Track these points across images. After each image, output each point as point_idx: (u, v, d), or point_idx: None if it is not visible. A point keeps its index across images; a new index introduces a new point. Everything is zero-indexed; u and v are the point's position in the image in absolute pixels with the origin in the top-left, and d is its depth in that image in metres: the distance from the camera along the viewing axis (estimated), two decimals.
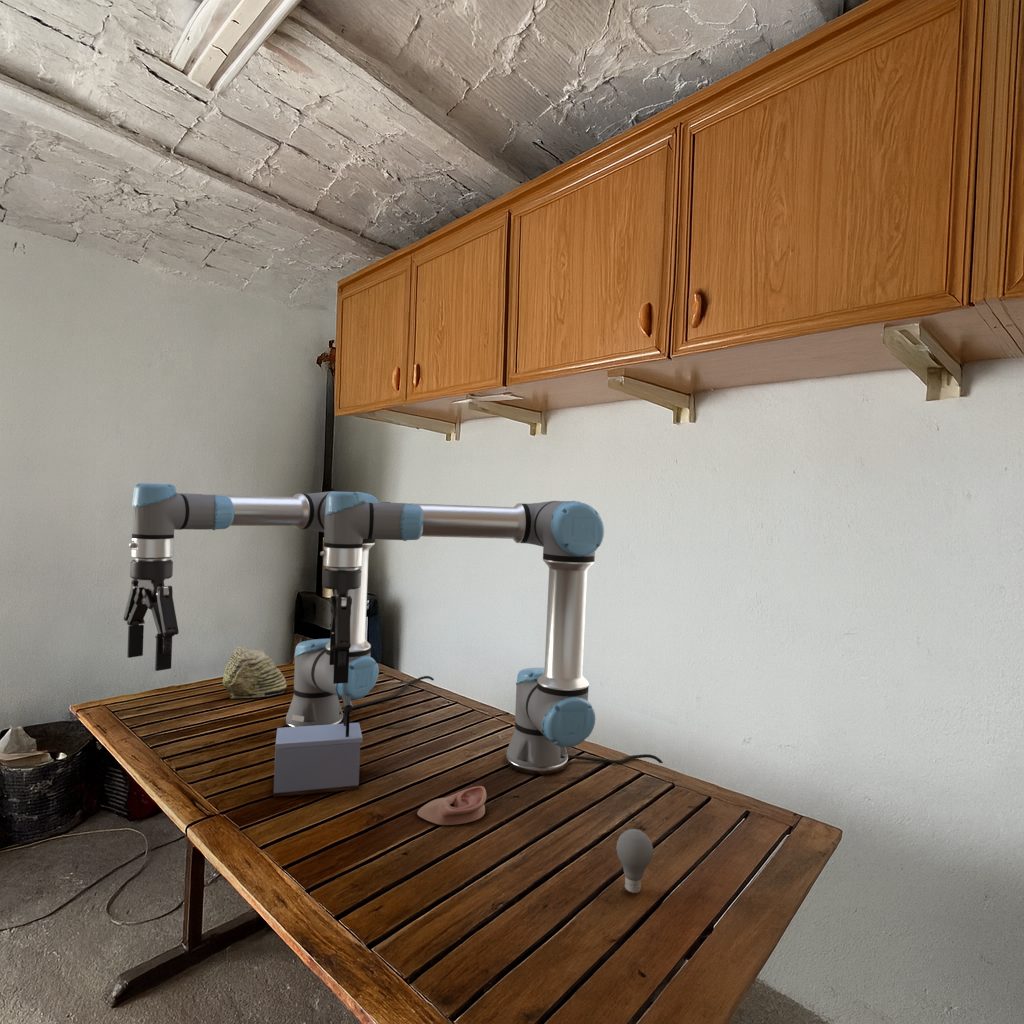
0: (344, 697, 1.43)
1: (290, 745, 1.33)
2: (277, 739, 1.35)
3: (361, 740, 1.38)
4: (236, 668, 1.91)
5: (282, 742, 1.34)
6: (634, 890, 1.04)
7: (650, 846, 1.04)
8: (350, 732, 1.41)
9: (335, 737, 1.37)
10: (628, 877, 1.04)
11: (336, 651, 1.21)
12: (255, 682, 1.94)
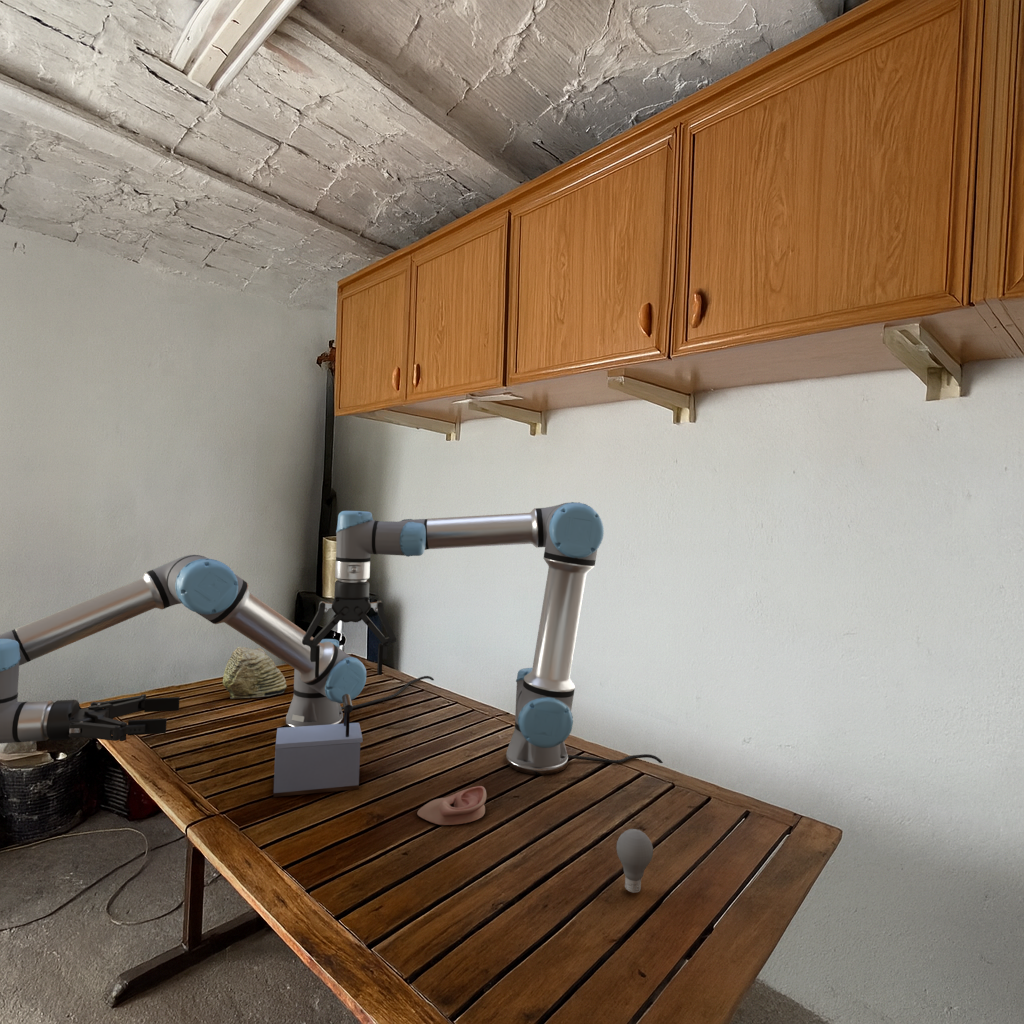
0: (344, 697, 1.43)
1: (290, 745, 1.33)
2: (277, 739, 1.35)
3: (361, 740, 1.38)
4: (236, 668, 1.91)
5: (282, 742, 1.34)
6: (634, 890, 1.04)
7: (650, 846, 1.04)
8: (350, 732, 1.41)
9: (335, 737, 1.37)
10: (628, 877, 1.04)
11: (382, 647, 1.43)
12: (255, 682, 1.94)
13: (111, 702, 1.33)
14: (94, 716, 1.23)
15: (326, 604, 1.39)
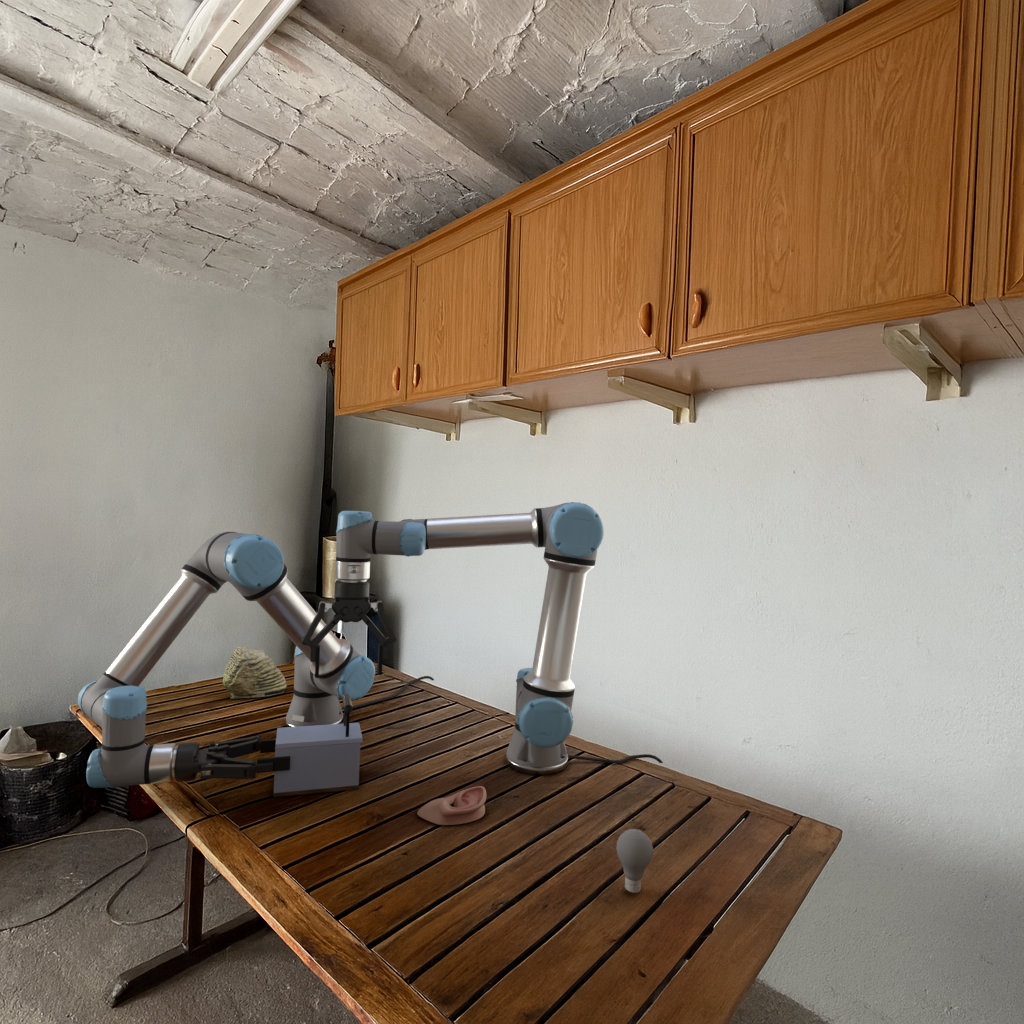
0: (344, 697, 1.43)
1: (290, 745, 1.33)
2: (277, 739, 1.35)
3: (361, 740, 1.38)
4: (236, 668, 1.91)
5: (282, 742, 1.34)
6: (634, 890, 1.04)
7: (650, 846, 1.04)
8: (350, 732, 1.41)
9: (335, 737, 1.37)
10: (628, 877, 1.04)
11: (382, 647, 1.43)
12: (255, 682, 1.94)
13: (227, 743, 1.40)
14: (219, 757, 1.31)
15: (326, 604, 1.39)
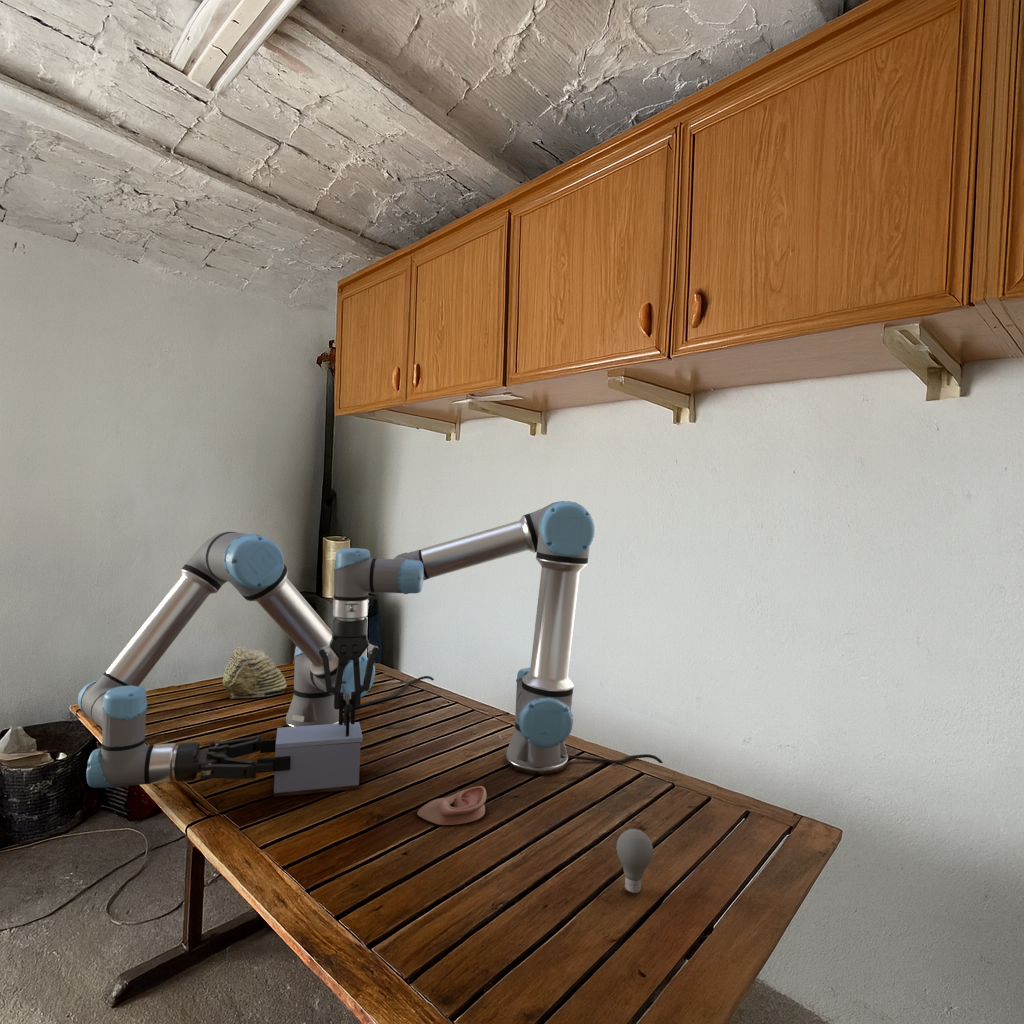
0: (344, 697, 1.43)
1: (290, 745, 1.33)
2: (277, 739, 1.35)
3: (361, 739, 1.38)
4: (236, 668, 1.91)
5: (282, 741, 1.34)
6: (634, 890, 1.04)
7: (650, 846, 1.04)
8: (350, 731, 1.41)
9: (335, 737, 1.37)
10: (628, 877, 1.04)
11: (355, 696, 1.41)
12: (255, 682, 1.94)
13: (228, 743, 1.40)
14: (219, 757, 1.31)
15: (325, 649, 1.39)
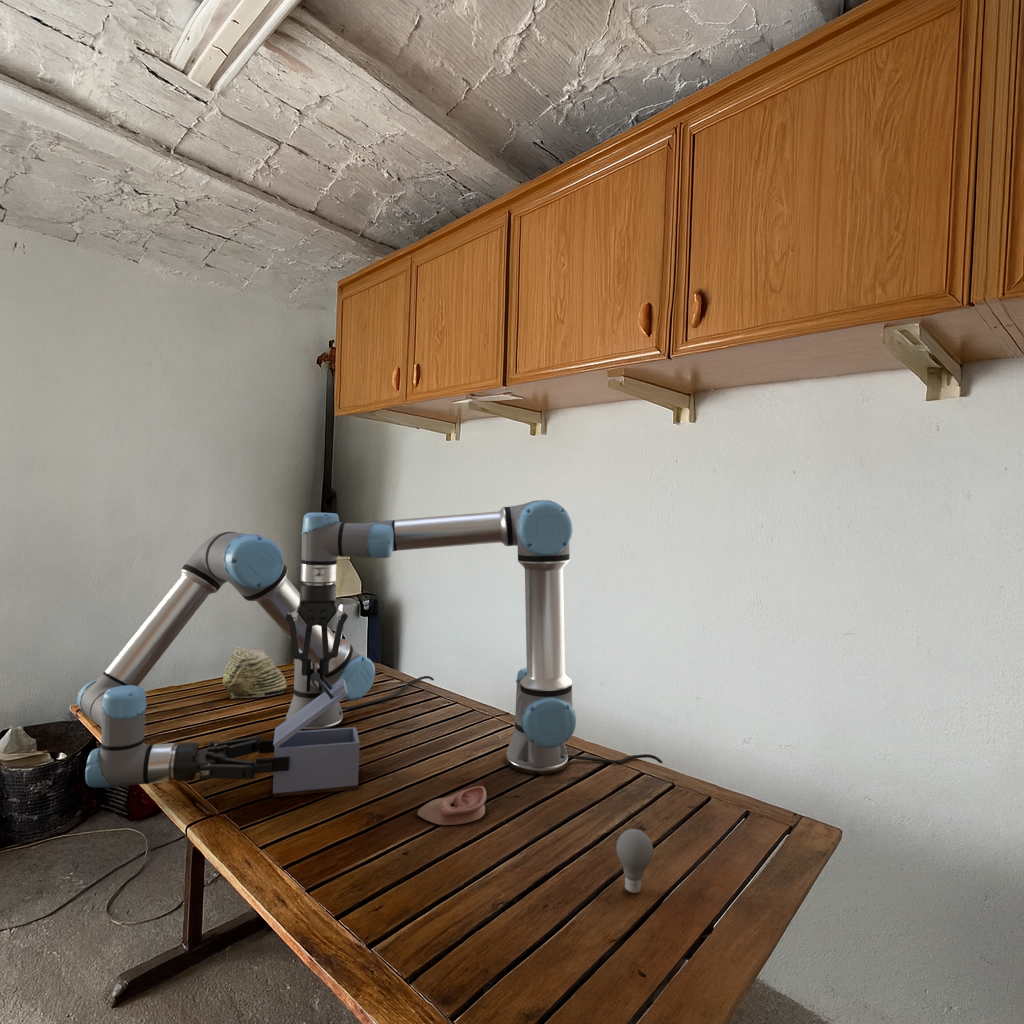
0: None
1: (286, 737, 1.33)
2: (274, 739, 1.35)
3: (346, 693, 1.37)
4: (236, 668, 1.91)
5: (279, 738, 1.34)
6: (634, 890, 1.04)
7: (650, 846, 1.04)
8: (335, 692, 1.40)
9: (323, 705, 1.36)
10: (628, 877, 1.04)
11: (323, 662, 1.39)
12: (255, 682, 1.94)
13: (227, 743, 1.40)
14: (218, 757, 1.31)
15: (292, 614, 1.37)
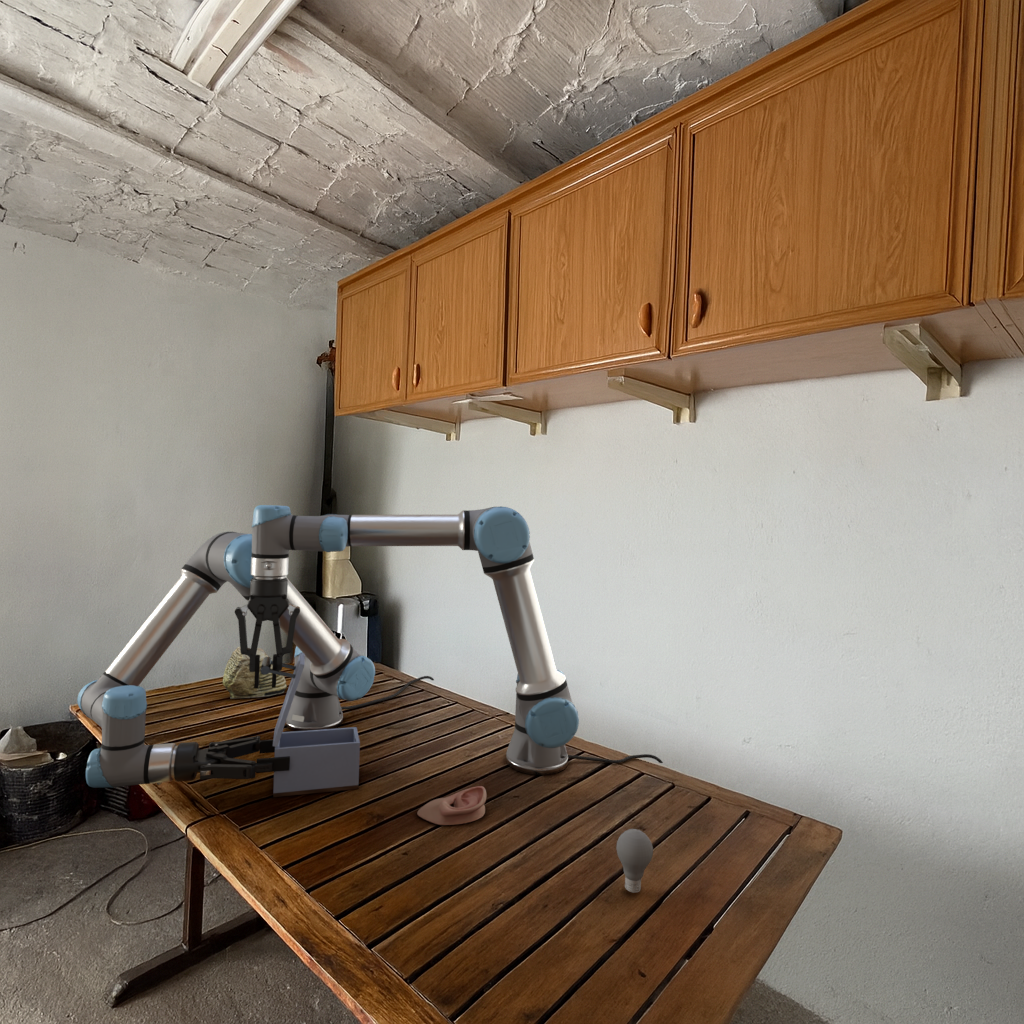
0: None
1: (279, 733, 1.33)
2: (273, 740, 1.35)
3: (302, 665, 1.34)
4: (236, 668, 1.91)
5: (274, 738, 1.33)
6: (634, 890, 1.04)
7: (650, 846, 1.04)
8: (296, 669, 1.37)
9: (291, 687, 1.34)
10: (628, 877, 1.04)
11: (276, 658, 1.36)
12: None
13: (227, 743, 1.40)
14: (219, 757, 1.31)
15: (241, 608, 1.34)
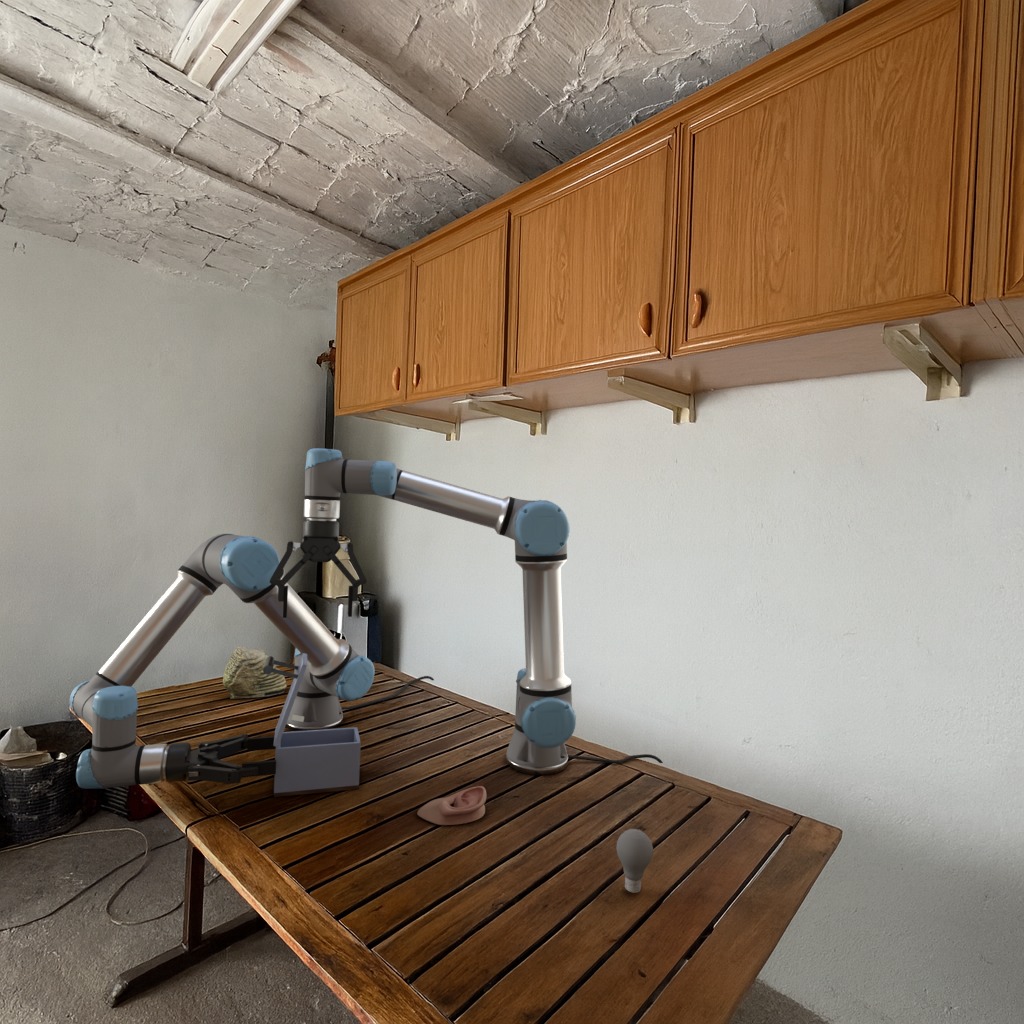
0: None
1: (280, 733, 1.33)
2: (274, 740, 1.35)
3: (305, 665, 1.34)
4: (236, 668, 1.91)
5: (275, 737, 1.33)
6: (634, 890, 1.04)
7: (650, 846, 1.04)
8: (299, 669, 1.37)
9: (293, 687, 1.34)
10: (628, 877, 1.04)
11: (352, 588, 1.40)
12: (255, 682, 1.94)
13: (216, 742, 1.39)
14: (208, 759, 1.30)
15: (294, 543, 1.37)
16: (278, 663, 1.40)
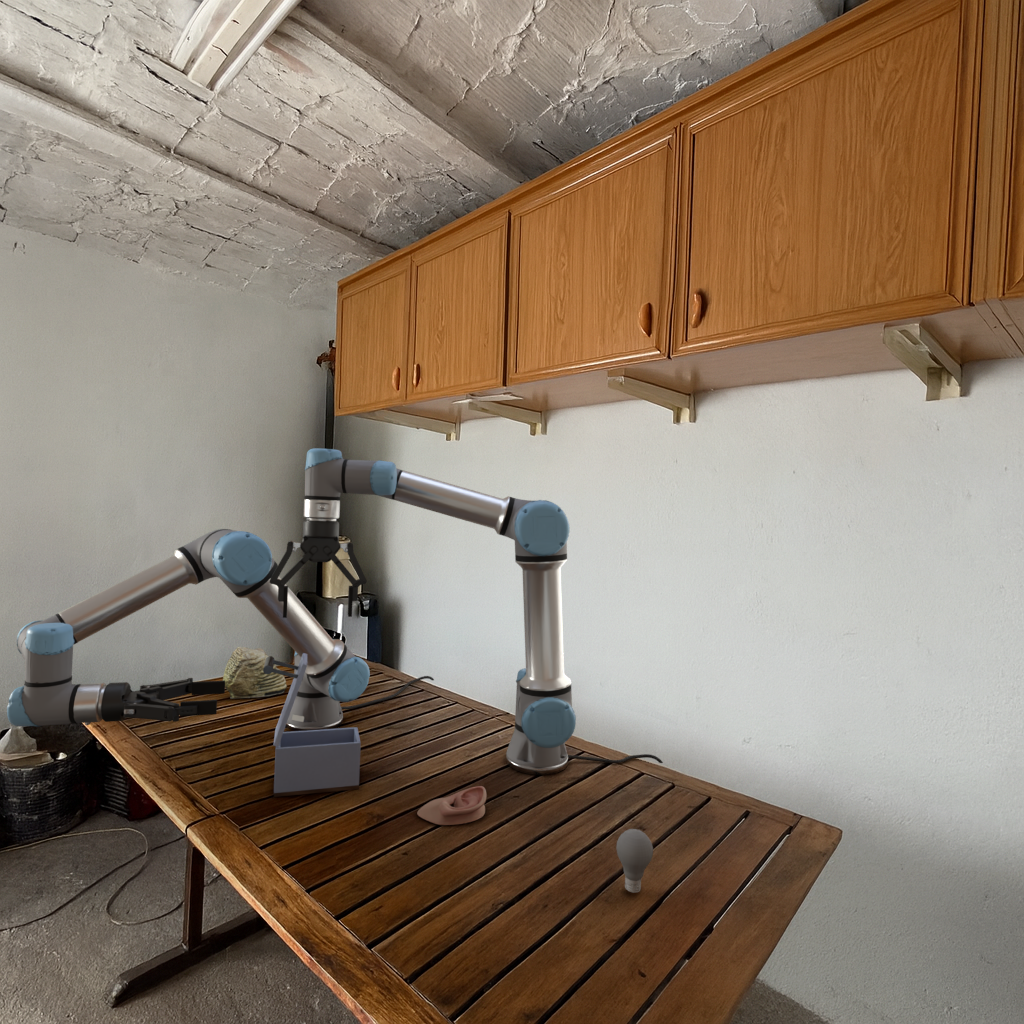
0: None
1: (280, 733, 1.33)
2: (274, 740, 1.35)
3: (305, 665, 1.34)
4: (236, 668, 1.91)
5: (275, 737, 1.33)
6: (634, 890, 1.04)
7: (650, 846, 1.04)
8: (299, 669, 1.37)
9: (293, 687, 1.34)
10: (628, 877, 1.04)
11: (352, 588, 1.40)
12: (255, 682, 1.94)
13: (160, 685, 1.36)
14: (146, 698, 1.26)
15: (294, 543, 1.37)
16: (278, 663, 1.40)
